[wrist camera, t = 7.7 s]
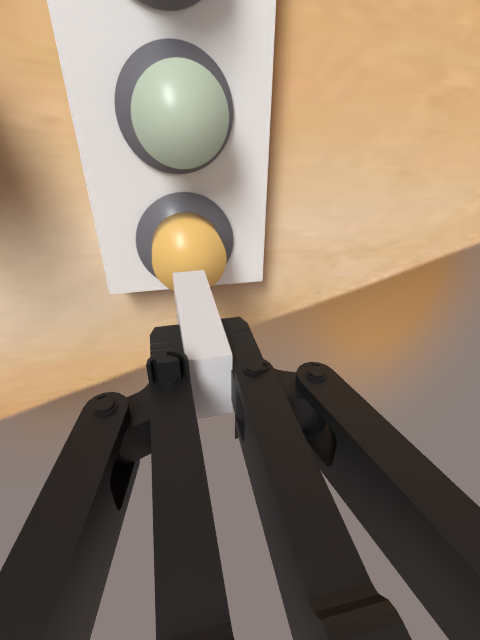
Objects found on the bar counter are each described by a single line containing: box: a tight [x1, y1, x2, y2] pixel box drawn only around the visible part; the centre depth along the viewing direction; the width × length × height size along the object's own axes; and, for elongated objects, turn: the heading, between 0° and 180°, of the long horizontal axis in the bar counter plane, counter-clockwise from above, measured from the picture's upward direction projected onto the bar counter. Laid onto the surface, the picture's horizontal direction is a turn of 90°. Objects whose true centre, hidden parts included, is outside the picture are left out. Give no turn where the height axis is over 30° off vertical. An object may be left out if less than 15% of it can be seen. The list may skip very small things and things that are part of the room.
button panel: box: [47, 0, 276, 294], centre depth 21 cm, size 11×22×3 cm, turn 179°
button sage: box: [131, 57, 229, 169], centre depth 17 cm, size 4×4×2 cm
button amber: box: [152, 212, 227, 291], centre depth 22 cm, size 4×4×2 cm
